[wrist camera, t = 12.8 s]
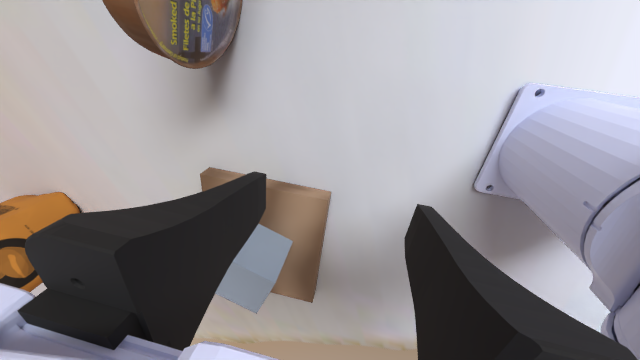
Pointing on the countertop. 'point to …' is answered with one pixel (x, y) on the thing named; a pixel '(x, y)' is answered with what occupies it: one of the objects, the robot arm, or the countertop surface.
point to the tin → (179, 27)
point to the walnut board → (289, 229)
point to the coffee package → (26, 233)
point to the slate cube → (255, 269)
